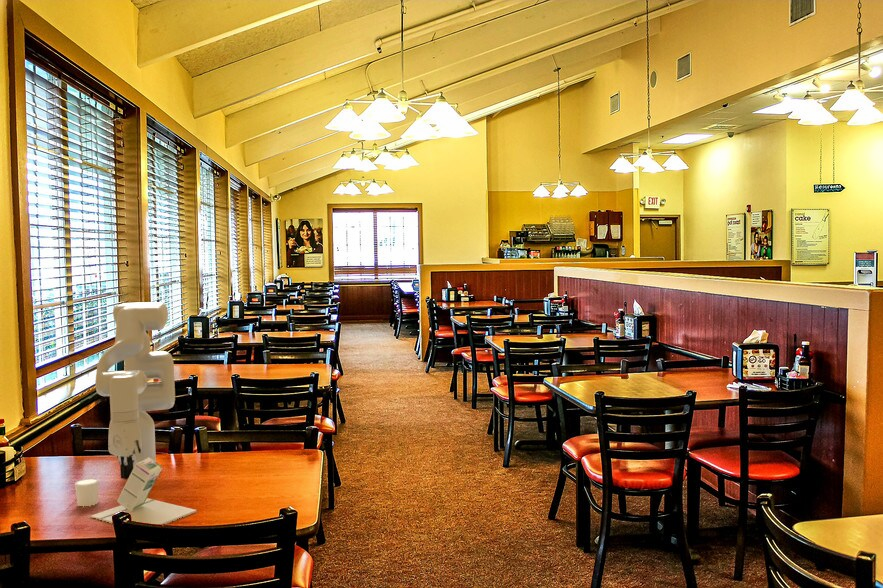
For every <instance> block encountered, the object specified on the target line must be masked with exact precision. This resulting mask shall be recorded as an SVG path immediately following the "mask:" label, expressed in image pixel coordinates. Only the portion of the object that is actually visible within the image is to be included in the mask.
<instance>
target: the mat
mask: <svg viewBox="0 0 883 588" xmlns="http://www.w3.org/2000/svg"><path fill="white" fill-rule="evenodd" d="M120 511H125V512H128V513H130V514H131V516H132V521H136V522H144V523H151V524H165V525H168V524H170V523H172V521H173V522H175V521H177V519H178V520H180V519H183V518H186V517H188V516H189V515H192V514H196V513H197V509H193V508H190V507H187V506H182V505H177V504H173V503H169V502H164V501H161V500H156V499H154V498H148V497H147V499H146V501H145V503H144V505H143V506H141V507H139V508H137V509H135V510H133V511H132V512H130V511H129V510H127V509H126V508H125V507H123V506H122V505H121V504H119V505H118V506H115V507H113V508H109V509H106V510H103V511H100V512H97V513H94V514H92V515H90V518H91V517H92V518H91V519H93V518H96V519H95V520H97V519H99V520H98V521H100V520H102V521H101V522H104V521H106V522H105V523H107V522H109V523H108V524H112V515H113V514H115V513H117V512H120ZM182 517H183V518H182ZM179 518H180V519H179ZM112 525H113V524H112Z"/></svg>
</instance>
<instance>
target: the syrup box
mask: <svg viewBox="0 0 883 588" xmlns="http://www.w3.org/2000/svg"><path fill="white" fill-rule="evenodd" d="M162 470H163V466H162V465H161V464H160V463H159V462H157V460H156V461H154V460H152V459H151V458H149V457H148V458H146V459H144V460H141V461H139V462H137V463H136V464H135V466H134V468H133V470H132V472H131V474H130V476H129V478H127V479H126V482H125V485H124V486H123V488H122V490H121V492H120V494H119V496H118V498H117V500H116V502H117V504H119V505H122V506H123V507H125V508H126V509H127V510H129V511H130V512H132V511H133V510H135V509H137V508H139V507H141V506H143V505H144V503H145V501H146V499H147V498H148V496H149V495H150V492H151V491H152V489H153V487H154V485H155V483H156V482H157V479H158V477H159V475H160V474H161V471H162Z"/></svg>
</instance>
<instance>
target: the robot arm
mask: <svg viewBox="0 0 883 588" xmlns="http://www.w3.org/2000/svg"><path fill="white" fill-rule="evenodd" d="M112 311H113V312H112V317H113V319H114V323H115V325H116V326H115V337H114V340H115V341H114V344H113V345H111V346H110V347H109V348H108V349H107V350H106V351H105V352H104V353H103V354H102V355H101V356H100V358H99V360H98V362H97V366H96V373H95V390H96V393H97V394H98V395H99V396H102V397H109V405H110V407H109V408H110V421H109V426H108V434H107V435H108V441H107V442H108V444H107V445H108V447H107V448H108V450H107V451H108V452H109V454H110V455H113V456H114V457H116V458H117V460H118V465H120V466H119V467H120V470H119V471H120V478H121V479H124V480H127V479H128V478H129V476H130V474H131V472H132V470H133V468H134V466H135V464H136V463H137V462H139V461H141V460H144V459H146V458H148V457H149V458H151V459H152V460H154V461H156V462H157V458H156V436H155V435H156V433H155V432H156V431H155V422H154V420H153V418H152V417H151V415H150V414H148V412H150V411H163V410H169V409H171V408H173V407H174V405H175V401H176V388H175V386H176V385H175V383H176V382H175V367H174V365H175V364H174V358H173V356H172V354H171V353H169V351H164V350H163V351H151V337H150V335H149V334H148V333H147V332H149V331H160V330H163V329H164V328H165V326H166V324H167V322H168V317H169V312H168V307H167V305H166V304H165V303H164V302H161V301H160V302H159V301H155V302H154V301H153V302H151V301H149V302H124V303H120V304H117V305H115V306H114V308H113V310H112ZM122 361H124V370H110V369H111V368H112V367H113V366H114V365H116V364H119V363H120V362H122ZM109 370H110V371H109ZM148 380H160V382H152V383H150V382H148Z"/></svg>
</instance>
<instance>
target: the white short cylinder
mask: <svg viewBox="0 0 883 588" xmlns="http://www.w3.org/2000/svg"><path fill="white" fill-rule="evenodd" d="M99 486H100V479H99V478H85V479H81V480H78V481H76V482H74V490H75V495H76V496H75V497H76V503H77V507H79V506H83V507H82V508H85V507H84V506H89V507H92V506H91V505H93V506H96V505H97V504H98V503H99V489H100V487H99ZM95 504H96V505H95Z"/></svg>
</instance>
